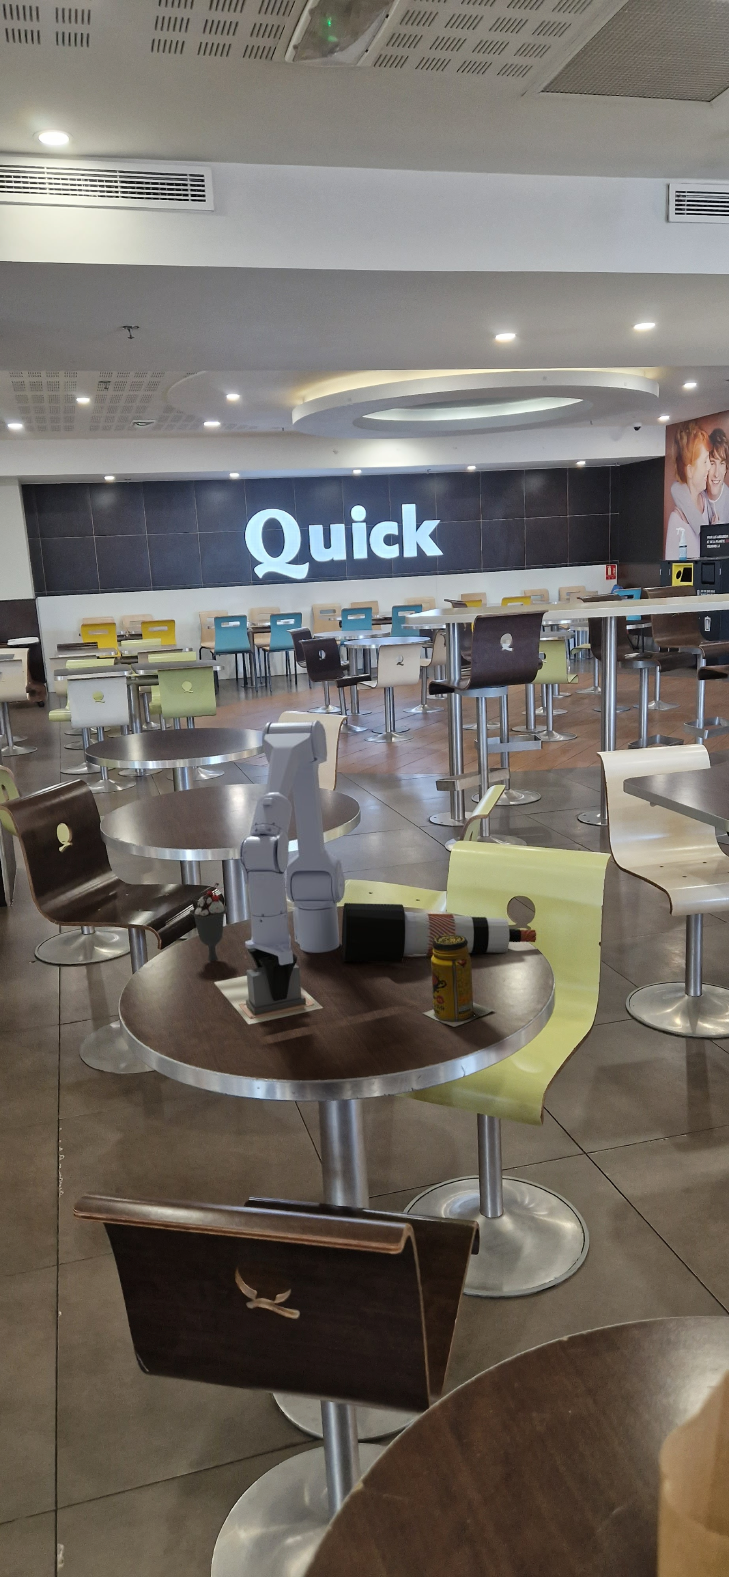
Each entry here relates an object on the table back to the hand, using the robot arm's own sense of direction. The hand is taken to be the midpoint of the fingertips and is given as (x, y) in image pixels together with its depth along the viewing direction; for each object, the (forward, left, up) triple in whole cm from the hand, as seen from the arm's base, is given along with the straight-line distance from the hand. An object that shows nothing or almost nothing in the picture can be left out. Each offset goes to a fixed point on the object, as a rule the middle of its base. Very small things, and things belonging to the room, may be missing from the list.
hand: (275, 994), depth 158 cm
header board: (-5, 0, -3) cm, 6 cm away
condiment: (+15, +24, -3) cm, 29 cm away
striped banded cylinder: (-8, +33, -3) cm, 34 cm away
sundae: (-27, -3, -3) cm, 27 cm away
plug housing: (0, 0, -1) cm, 1 cm away
